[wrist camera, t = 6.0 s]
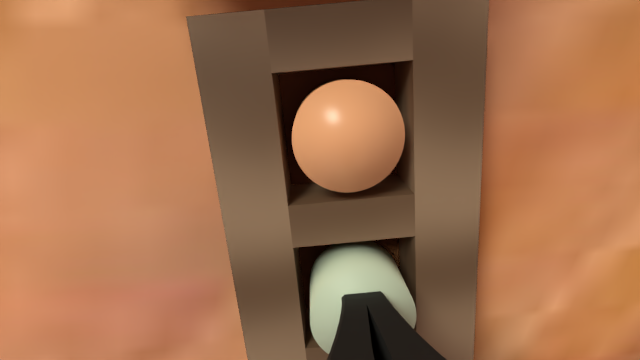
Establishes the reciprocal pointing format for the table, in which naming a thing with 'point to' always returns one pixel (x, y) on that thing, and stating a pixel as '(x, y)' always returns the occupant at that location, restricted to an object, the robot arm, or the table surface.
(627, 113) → the table surface
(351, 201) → the button board
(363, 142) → the orange button
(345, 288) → the sage button
